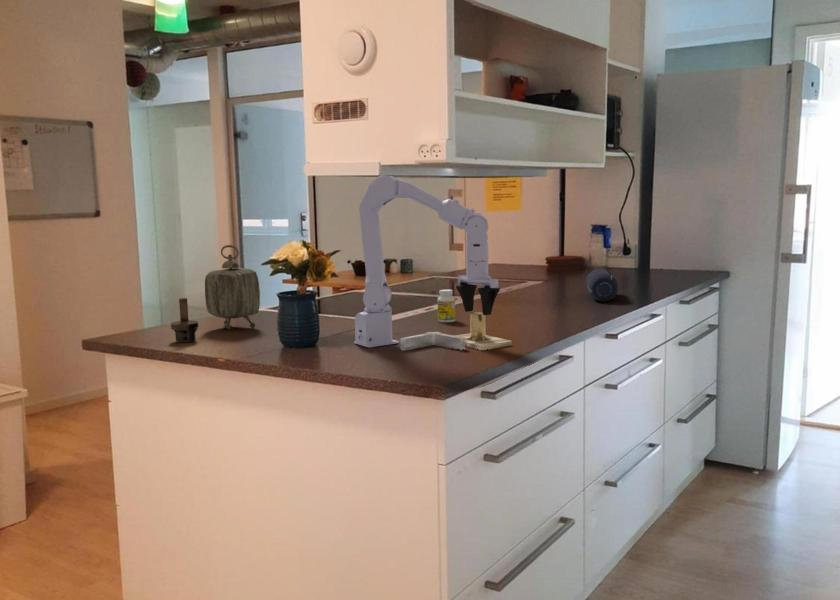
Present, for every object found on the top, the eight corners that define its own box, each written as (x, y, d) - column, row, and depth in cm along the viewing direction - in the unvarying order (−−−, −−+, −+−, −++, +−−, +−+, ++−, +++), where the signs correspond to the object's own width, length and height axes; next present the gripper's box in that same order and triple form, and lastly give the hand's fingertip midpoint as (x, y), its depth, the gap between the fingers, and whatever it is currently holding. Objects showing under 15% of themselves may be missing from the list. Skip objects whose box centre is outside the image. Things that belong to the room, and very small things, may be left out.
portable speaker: (619, 303, 267) (619, 274, 266) (589, 303, 269) (589, 274, 268) (612, 293, 292) (612, 267, 291) (585, 293, 294) (585, 267, 292)
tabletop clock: (261, 327, 233) (257, 244, 230) (240, 332, 226) (235, 246, 222) (226, 324, 241) (221, 243, 237) (204, 329, 233) (199, 245, 229)
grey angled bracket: (465, 350, 195) (465, 338, 195) (400, 350, 196) (400, 339, 196) (465, 342, 204) (464, 331, 204) (402, 343, 205) (402, 332, 205)
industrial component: (205, 340, 215) (203, 297, 213) (184, 345, 209) (181, 300, 208) (183, 337, 221) (181, 295, 219) (162, 341, 215) (159, 298, 213)
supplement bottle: (458, 320, 239) (457, 289, 238) (450, 323, 234) (449, 291, 233) (442, 319, 242) (442, 288, 240) (434, 322, 237) (434, 290, 236)
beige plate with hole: (511, 345, 200) (511, 340, 200) (481, 350, 194) (481, 345, 194) (474, 336, 212) (474, 332, 212) (445, 341, 207) (445, 337, 206)
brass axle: (476, 345, 200) (476, 315, 199) (467, 343, 204) (466, 313, 203) (488, 343, 203) (488, 313, 202) (479, 341, 206) (478, 311, 205)
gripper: (507, 261, 196) (507, 314, 198) (472, 258, 208) (472, 308, 210) (485, 263, 192) (486, 317, 194) (450, 260, 204) (451, 310, 206)
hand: (477, 313), depth 202 cm, fingers open, 7 cm apart
